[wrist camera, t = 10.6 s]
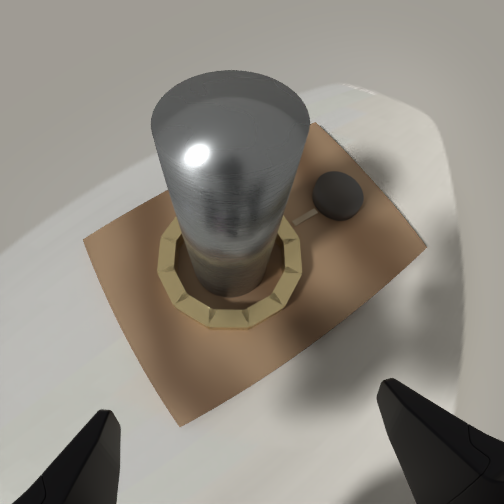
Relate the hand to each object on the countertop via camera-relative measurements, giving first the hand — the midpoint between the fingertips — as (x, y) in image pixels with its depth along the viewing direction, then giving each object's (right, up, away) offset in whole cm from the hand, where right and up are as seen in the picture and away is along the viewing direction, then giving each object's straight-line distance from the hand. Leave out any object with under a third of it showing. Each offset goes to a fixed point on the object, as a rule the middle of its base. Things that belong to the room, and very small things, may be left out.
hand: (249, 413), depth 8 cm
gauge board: (+1, +5, +12) cm, 13 cm away
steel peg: (-1, +4, +10) cm, 11 cm away
